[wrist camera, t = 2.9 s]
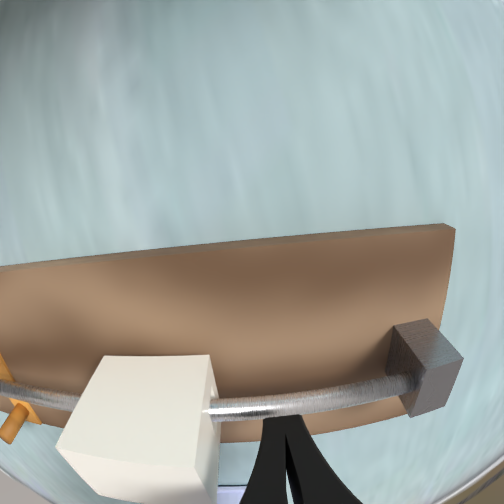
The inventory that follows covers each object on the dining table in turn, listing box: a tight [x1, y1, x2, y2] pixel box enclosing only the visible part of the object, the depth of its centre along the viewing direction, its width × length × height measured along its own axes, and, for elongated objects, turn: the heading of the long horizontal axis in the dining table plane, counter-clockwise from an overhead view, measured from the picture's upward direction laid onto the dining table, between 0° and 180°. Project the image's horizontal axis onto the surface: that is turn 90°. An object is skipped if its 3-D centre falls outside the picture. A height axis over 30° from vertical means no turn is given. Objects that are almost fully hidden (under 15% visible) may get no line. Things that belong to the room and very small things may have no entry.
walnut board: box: [0, 223, 456, 444], centre depth 12 cm, size 12×34×4 cm, turn 95°
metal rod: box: [0, 318, 464, 422], centre depth 12 cm, size 3×29×4 cm, turn 95°
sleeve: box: [55, 355, 221, 504], centre depth 10 cm, size 4×5×6 cm
